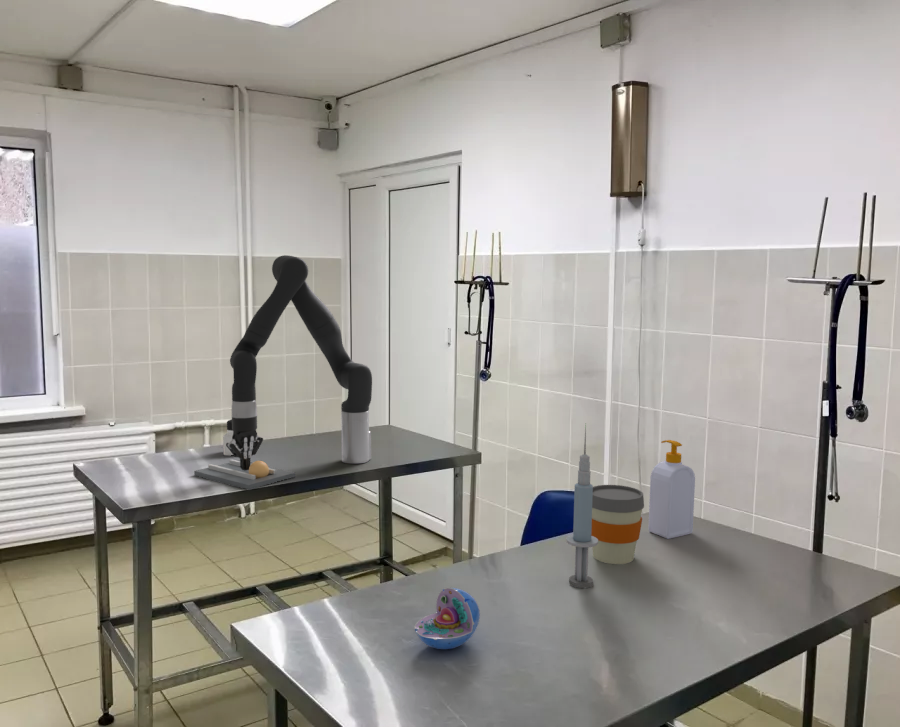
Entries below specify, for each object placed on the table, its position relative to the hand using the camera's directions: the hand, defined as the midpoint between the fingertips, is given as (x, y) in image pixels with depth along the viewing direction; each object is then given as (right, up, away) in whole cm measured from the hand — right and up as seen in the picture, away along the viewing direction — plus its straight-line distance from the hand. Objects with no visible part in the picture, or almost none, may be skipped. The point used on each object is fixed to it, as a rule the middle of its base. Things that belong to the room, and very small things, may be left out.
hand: (245, 469), depth 236 cm
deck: (0, -2, +1) cm, 2 cm away
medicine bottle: (-11, +1, +31) cm, 33 cm away
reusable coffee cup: (+100, -11, -65) cm, 120 cm away
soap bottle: (+118, -9, -48) cm, 127 cm away
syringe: (+90, -12, -80) cm, 121 cm away
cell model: (+63, -15, -106) cm, 125 cm away
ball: (+5, 0, -4) cm, 6 cm away
